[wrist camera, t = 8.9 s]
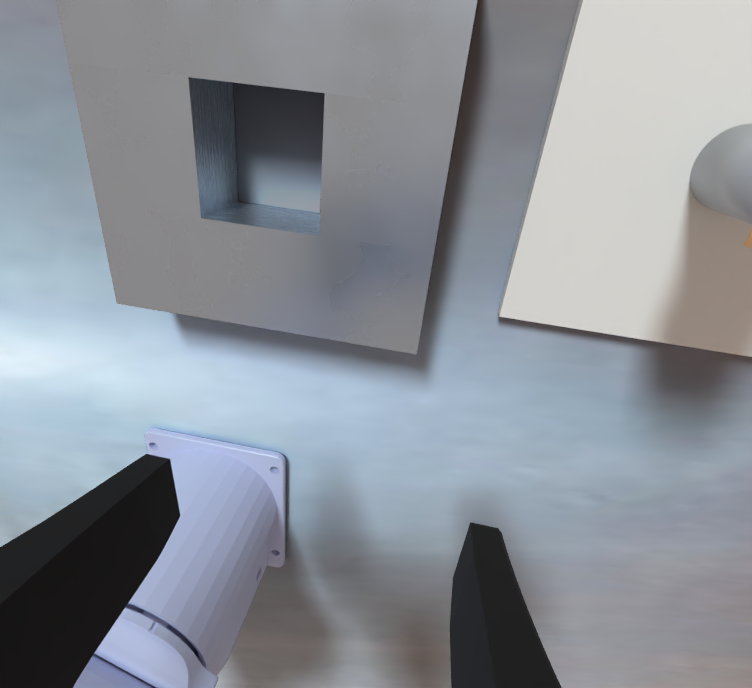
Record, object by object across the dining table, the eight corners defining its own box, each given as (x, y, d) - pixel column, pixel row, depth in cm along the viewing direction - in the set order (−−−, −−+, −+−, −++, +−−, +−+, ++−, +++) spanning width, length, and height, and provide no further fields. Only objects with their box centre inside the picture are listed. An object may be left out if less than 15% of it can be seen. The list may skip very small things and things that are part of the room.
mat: (809, 359, 17) (820, 368, 17) (498, 310, 18) (499, 316, 18) (1080, -38, 11) (1110, -45, 11) (599, -76, 12) (605, -84, 12)
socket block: (422, 320, 19) (416, 354, 16) (160, 277, 20) (116, 303, 18) (483, -39, 13) (489, -74, 11) (111, -72, 14) (33, -111, 12)
